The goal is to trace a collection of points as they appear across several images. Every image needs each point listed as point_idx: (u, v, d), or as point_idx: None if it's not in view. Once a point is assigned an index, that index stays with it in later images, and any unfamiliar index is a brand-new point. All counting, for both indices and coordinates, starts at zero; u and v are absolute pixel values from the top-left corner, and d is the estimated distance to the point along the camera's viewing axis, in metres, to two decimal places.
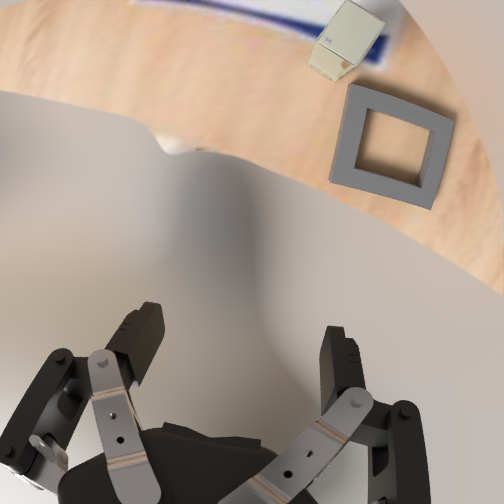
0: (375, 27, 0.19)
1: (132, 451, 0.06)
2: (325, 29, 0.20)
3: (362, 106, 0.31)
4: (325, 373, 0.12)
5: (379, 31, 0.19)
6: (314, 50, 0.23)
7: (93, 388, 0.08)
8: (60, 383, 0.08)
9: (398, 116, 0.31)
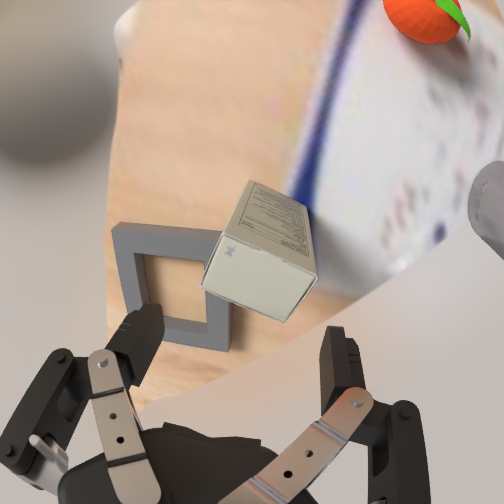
0: (272, 311, 0.18)
1: (132, 451, 0.06)
2: (249, 246, 0.17)
3: (204, 255, 0.29)
4: (325, 373, 0.12)
5: (268, 315, 0.19)
6: (230, 216, 0.19)
7: (93, 388, 0.08)
8: (60, 383, 0.08)
9: (207, 295, 0.31)
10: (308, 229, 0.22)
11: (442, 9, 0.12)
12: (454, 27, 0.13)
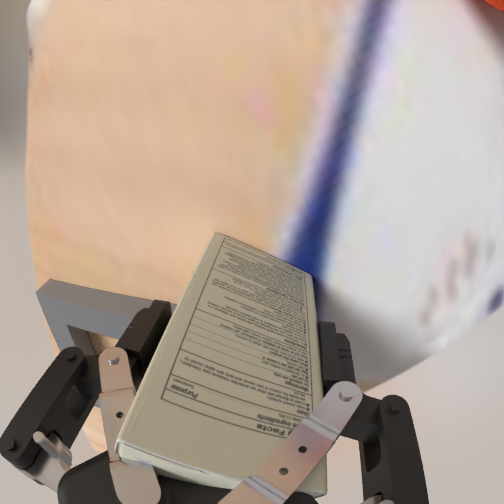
0: None
1: None
2: (179, 465, 0.06)
3: None
4: None
5: None
6: None
7: (102, 385, 0.09)
8: (69, 381, 0.09)
9: None
10: (315, 344, 0.12)
11: None
12: None
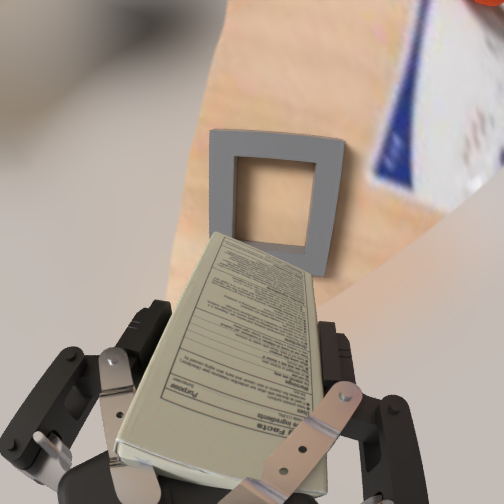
0: None
1: None
2: (179, 464, 0.06)
3: (317, 157, 0.27)
4: None
5: None
6: (151, 358, 0.08)
7: (102, 385, 0.09)
8: (69, 381, 0.09)
9: (313, 204, 0.29)
10: (315, 343, 0.12)
11: None
12: None
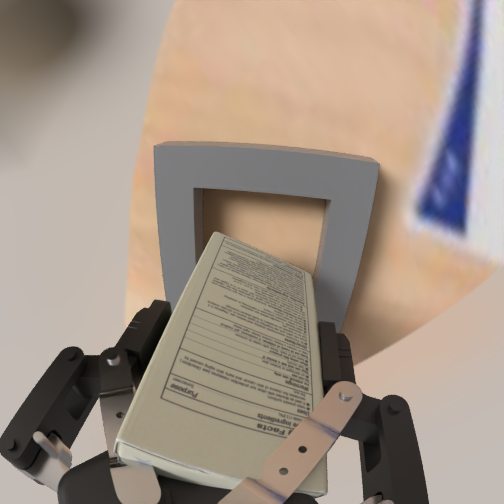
0: None
1: None
2: (179, 464, 0.06)
3: (332, 190, 0.16)
4: None
5: None
6: (151, 359, 0.08)
7: (102, 385, 0.09)
8: (69, 381, 0.09)
9: (323, 264, 0.18)
10: (315, 344, 0.12)
11: None
12: None
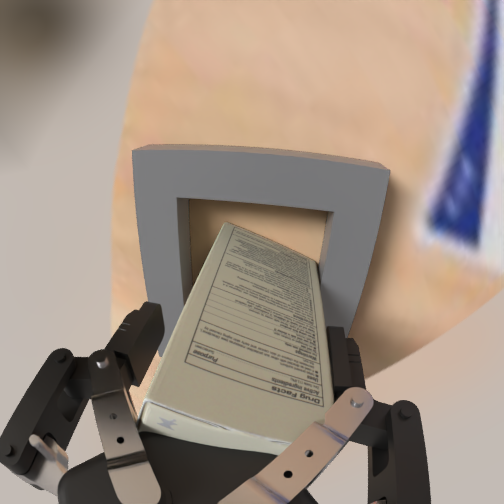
0: None
1: (132, 451, 0.06)
2: (202, 422, 0.07)
3: (335, 200, 0.14)
4: None
5: None
6: (174, 329, 0.09)
7: (93, 388, 0.08)
8: (60, 383, 0.08)
9: (323, 283, 0.16)
10: (321, 320, 0.13)
11: None
12: None
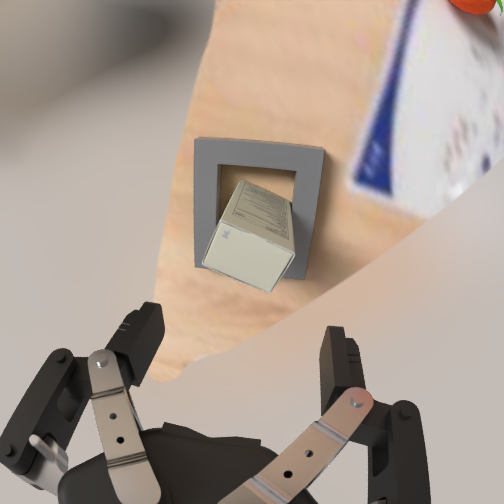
0: (259, 283, 0.23)
1: (132, 451, 0.06)
2: (241, 230, 0.21)
3: (297, 165, 0.29)
4: (325, 373, 0.12)
5: (256, 287, 0.24)
6: (226, 208, 0.24)
7: (93, 388, 0.08)
8: (60, 383, 0.08)
9: (293, 210, 0.31)
10: (290, 219, 0.27)
11: None
12: (492, 3, 0.13)
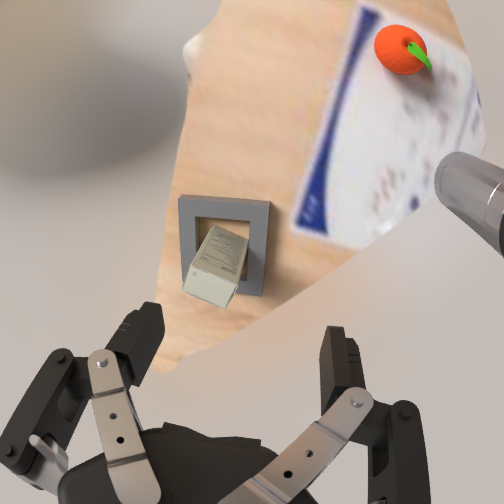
0: (217, 302, 0.36)
1: (132, 451, 0.06)
2: (203, 271, 0.34)
3: (250, 217, 0.41)
4: (325, 373, 0.12)
5: (216, 305, 0.36)
6: (196, 254, 0.37)
7: (93, 388, 0.08)
8: (60, 383, 0.08)
9: (249, 248, 0.44)
10: (242, 257, 0.40)
11: (411, 54, 0.24)
12: (420, 64, 0.25)
